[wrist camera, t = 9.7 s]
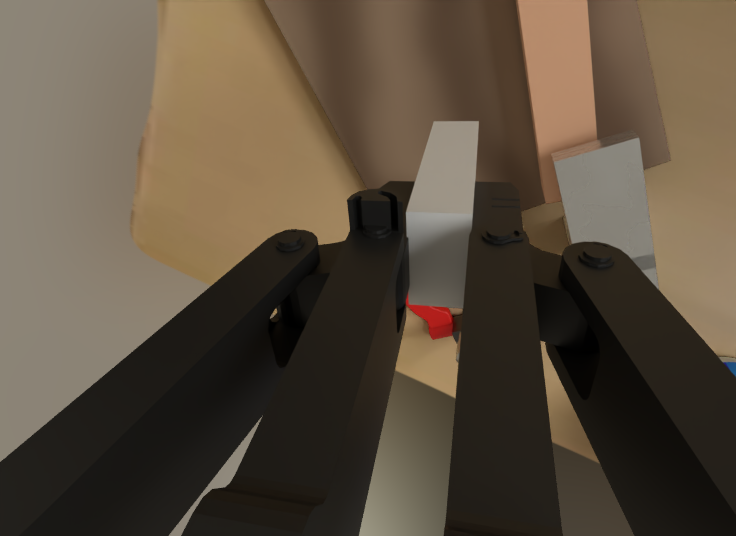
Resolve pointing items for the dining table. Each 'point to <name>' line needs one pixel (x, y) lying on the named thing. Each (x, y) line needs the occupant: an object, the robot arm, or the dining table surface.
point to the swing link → (557, 80)
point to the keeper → (607, 197)
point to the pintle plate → (458, 81)
